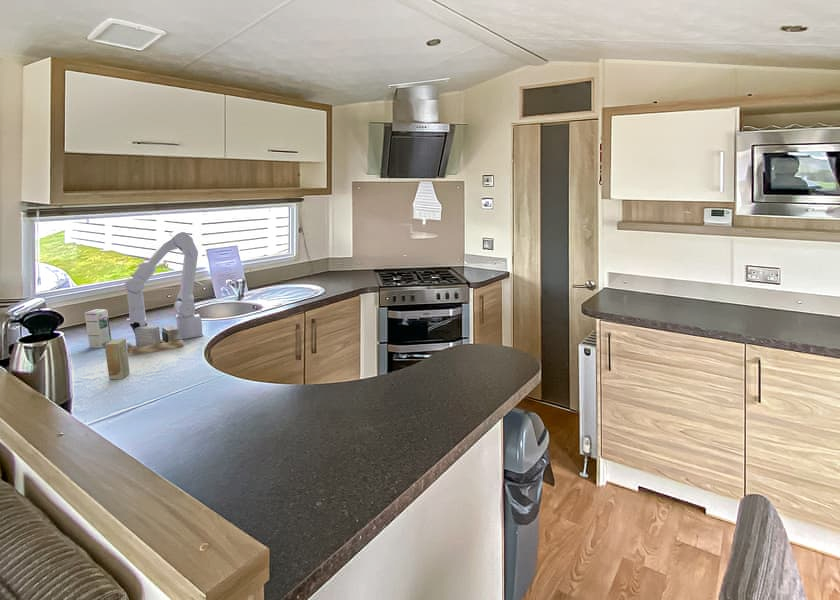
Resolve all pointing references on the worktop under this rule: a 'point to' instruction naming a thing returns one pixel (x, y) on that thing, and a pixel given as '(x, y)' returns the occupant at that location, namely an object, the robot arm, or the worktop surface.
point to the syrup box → (98, 328)
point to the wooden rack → (167, 342)
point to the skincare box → (117, 358)
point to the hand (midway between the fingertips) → (140, 340)
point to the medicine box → (147, 336)
